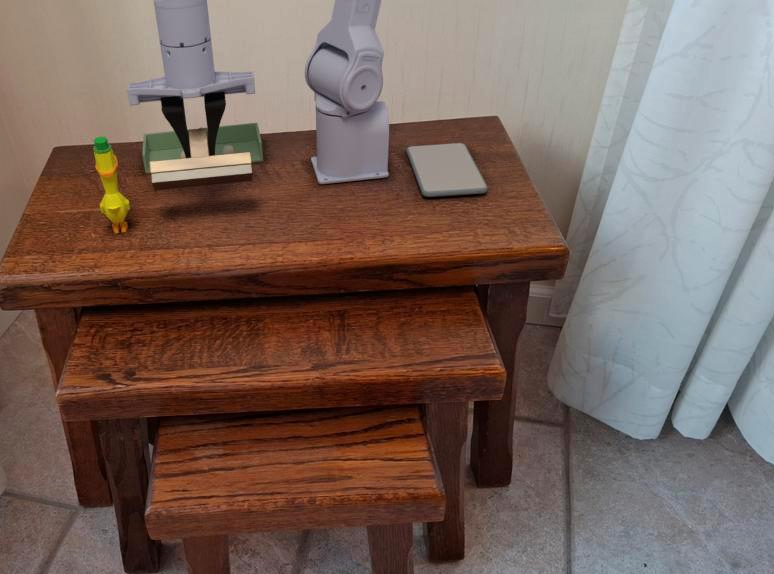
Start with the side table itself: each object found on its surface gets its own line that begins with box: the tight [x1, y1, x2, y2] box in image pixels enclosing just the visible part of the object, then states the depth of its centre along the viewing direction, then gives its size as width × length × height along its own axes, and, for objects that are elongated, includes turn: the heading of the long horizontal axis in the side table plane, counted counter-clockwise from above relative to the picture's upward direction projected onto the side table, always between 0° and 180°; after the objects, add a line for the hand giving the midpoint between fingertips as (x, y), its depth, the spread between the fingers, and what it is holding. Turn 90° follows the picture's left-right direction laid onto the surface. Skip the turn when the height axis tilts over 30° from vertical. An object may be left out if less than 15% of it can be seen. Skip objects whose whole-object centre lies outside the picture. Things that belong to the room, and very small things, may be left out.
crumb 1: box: [180, 151, 186, 159], centre depth 109 cm, size 2×2×2 cm
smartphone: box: [405, 142, 489, 198], centre depth 102 cm, size 8×1×15 cm
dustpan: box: [141, 122, 264, 174], centre depth 111 cm, size 10×17×3 cm, turn 96°
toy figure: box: [92, 136, 131, 234], centre depth 93 cm, size 7×4×12 cm, turn 9°
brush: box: [150, 127, 254, 191], centre depth 92 cm, size 12×3×6 cm
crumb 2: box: [222, 145, 235, 155], centre depth 109 cm, size 2×2×2 cm
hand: (200, 156), depth 94 cm, fingers closed on brush, 2 cm apart
